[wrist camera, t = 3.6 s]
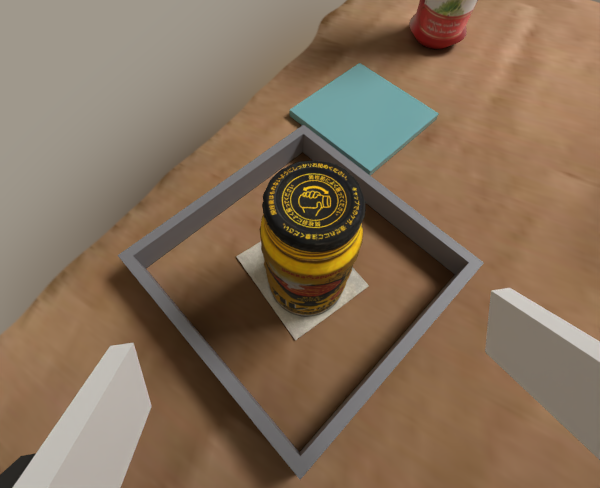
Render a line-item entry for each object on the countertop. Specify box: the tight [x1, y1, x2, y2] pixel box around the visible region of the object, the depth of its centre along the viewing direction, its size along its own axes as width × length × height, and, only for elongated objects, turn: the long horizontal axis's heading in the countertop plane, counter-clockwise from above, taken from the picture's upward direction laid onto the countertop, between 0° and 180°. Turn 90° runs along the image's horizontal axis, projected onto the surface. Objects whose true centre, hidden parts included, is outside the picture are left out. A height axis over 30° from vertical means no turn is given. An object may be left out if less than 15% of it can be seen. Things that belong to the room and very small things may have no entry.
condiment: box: [236, 161, 368, 340], centre depth 23 cm, size 7×8×12 cm
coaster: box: [290, 63, 439, 175], centre depth 36 cm, size 11×11×1 cm
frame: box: [118, 125, 483, 479], centre depth 27 cm, size 20×20×2 cm
